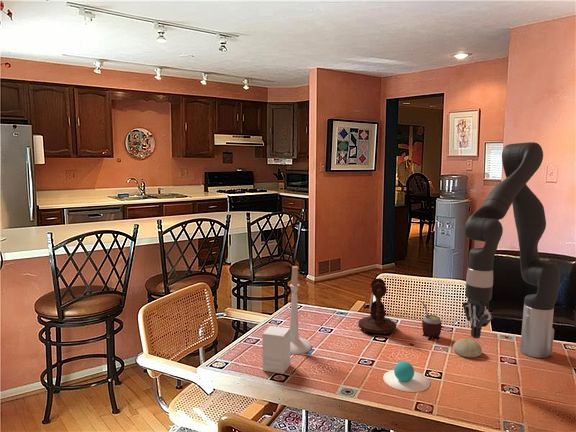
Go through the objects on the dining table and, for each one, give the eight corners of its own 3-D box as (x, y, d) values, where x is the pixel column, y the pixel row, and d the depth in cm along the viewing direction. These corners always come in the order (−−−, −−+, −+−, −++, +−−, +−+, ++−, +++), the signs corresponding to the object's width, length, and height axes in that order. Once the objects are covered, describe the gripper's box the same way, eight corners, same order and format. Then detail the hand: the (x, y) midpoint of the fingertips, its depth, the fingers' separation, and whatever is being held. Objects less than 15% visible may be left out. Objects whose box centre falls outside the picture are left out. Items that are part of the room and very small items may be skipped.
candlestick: (270, 350, 164) (270, 267, 159) (284, 337, 175) (285, 259, 171) (304, 356, 159) (305, 271, 155) (316, 342, 171) (318, 263, 166)
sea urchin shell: (487, 355, 158) (470, 338, 158) (468, 369, 160) (452, 352, 160) (481, 344, 167) (465, 328, 167) (464, 357, 169) (448, 341, 169)
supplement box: (290, 364, 153) (291, 328, 151) (283, 374, 146) (283, 336, 144) (270, 361, 155) (270, 324, 154) (261, 370, 149) (261, 333, 147)
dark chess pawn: (357, 321, 192) (359, 274, 190) (394, 324, 190) (396, 276, 188) (358, 335, 178) (360, 285, 175) (397, 338, 176) (400, 287, 173)
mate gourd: (442, 336, 178) (445, 298, 176) (437, 343, 172) (439, 304, 170) (423, 332, 182) (425, 295, 180) (417, 338, 176) (419, 300, 173)
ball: (409, 357, 146) (391, 359, 145) (417, 364, 140) (398, 366, 139) (409, 376, 146) (391, 377, 146) (417, 384, 140) (398, 385, 140)
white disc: (416, 368, 152) (416, 367, 152) (438, 389, 138) (438, 389, 138) (376, 371, 149) (376, 371, 149) (395, 394, 135) (395, 393, 135)
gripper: (504, 288, 135) (499, 345, 138) (477, 276, 148) (473, 328, 151) (481, 290, 134) (477, 347, 136) (456, 277, 147) (452, 330, 149)
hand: (475, 337), depth 143 cm, fingers closed
